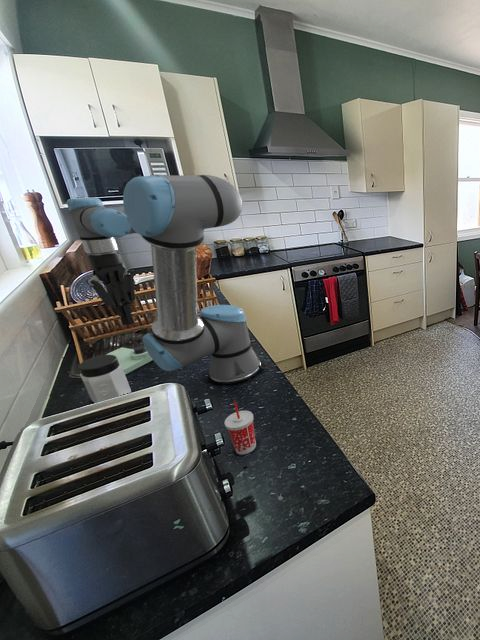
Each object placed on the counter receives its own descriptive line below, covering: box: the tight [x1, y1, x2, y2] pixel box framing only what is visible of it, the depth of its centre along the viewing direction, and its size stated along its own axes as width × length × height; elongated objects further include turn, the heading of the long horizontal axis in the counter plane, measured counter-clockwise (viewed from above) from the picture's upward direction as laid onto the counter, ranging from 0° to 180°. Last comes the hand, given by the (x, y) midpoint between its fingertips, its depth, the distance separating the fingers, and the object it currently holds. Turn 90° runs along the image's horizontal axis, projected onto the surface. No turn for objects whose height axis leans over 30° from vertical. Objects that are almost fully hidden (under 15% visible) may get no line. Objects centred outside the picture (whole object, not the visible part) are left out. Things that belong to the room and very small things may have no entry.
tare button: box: [133, 345, 146, 354], centre depth 119 cm, size 3×3×2 cm
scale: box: [105, 347, 154, 376], centre depth 118 cm, size 15×12×4 cm
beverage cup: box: [224, 400, 257, 455], centre depth 83 cm, size 6×6×14 cm
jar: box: [77, 354, 132, 404], centre depth 99 cm, size 9×8×12 cm
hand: (128, 323), depth 113 cm, fingers closed
